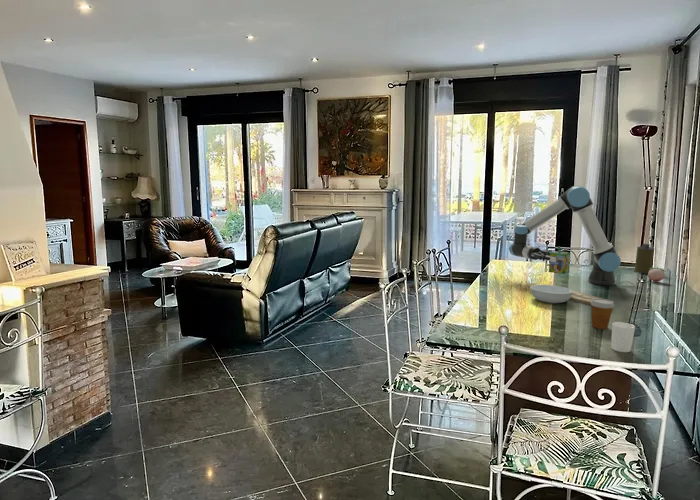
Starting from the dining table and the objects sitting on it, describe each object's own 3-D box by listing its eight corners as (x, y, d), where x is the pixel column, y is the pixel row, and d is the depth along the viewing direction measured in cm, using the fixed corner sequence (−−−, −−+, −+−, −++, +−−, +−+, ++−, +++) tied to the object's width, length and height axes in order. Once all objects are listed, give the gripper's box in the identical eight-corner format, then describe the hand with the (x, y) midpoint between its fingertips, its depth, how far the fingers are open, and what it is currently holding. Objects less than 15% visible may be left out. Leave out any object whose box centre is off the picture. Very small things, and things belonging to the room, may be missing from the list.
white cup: (611, 344, 204) (613, 320, 202) (633, 348, 200) (636, 324, 198) (608, 350, 198) (611, 325, 196) (630, 354, 193) (634, 329, 192)
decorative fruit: (648, 282, 321) (650, 267, 319) (646, 280, 328) (648, 265, 326) (665, 284, 317) (667, 268, 315) (662, 281, 325) (664, 266, 323)
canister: (654, 274, 349) (658, 245, 345) (639, 273, 349) (642, 244, 345) (645, 270, 359) (649, 243, 356) (630, 270, 359) (634, 242, 356)
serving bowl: (569, 298, 275) (570, 286, 274) (572, 308, 256) (574, 295, 254) (529, 294, 282) (530, 282, 281) (529, 304, 262) (530, 291, 261)
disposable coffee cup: (583, 323, 231) (586, 298, 229) (603, 323, 232) (606, 298, 230) (595, 330, 221) (598, 303, 219) (616, 330, 222) (619, 304, 220)
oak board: (569, 292, 289) (569, 289, 289) (607, 302, 269) (608, 299, 269) (552, 294, 283) (552, 292, 282) (591, 305, 262) (591, 302, 262)
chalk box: (564, 274, 285) (566, 248, 283) (547, 272, 291) (550, 246, 288) (569, 272, 292) (571, 246, 290) (552, 269, 298) (555, 244, 295)
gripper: (544, 257, 314) (575, 263, 295) (517, 260, 302) (547, 267, 283) (545, 245, 312) (576, 251, 294) (518, 248, 301) (548, 253, 282)
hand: (562, 258), depth 288 cm, fingers closed on chalk box, 11 cm apart
